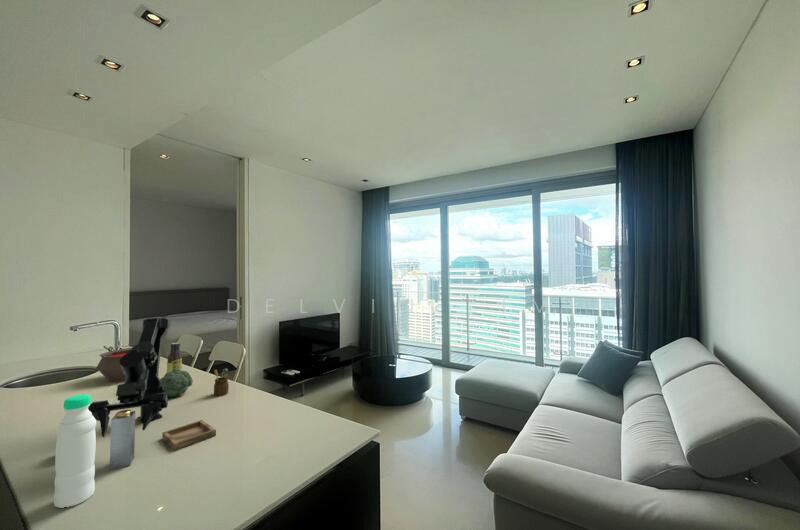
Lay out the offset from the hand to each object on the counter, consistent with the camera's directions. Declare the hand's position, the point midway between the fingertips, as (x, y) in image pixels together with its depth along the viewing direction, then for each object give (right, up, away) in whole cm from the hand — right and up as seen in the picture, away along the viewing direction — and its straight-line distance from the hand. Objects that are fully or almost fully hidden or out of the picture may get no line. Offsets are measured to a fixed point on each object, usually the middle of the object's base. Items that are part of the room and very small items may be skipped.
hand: (123, 433), depth 95 cm
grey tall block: (0, -9, -1) cm, 9 cm away
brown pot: (-65, -11, +77) cm, 101 cm away
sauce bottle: (-34, -11, +69) cm, 78 cm away
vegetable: (-22, -10, +53) cm, 58 cm away
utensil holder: (-1, -10, +54) cm, 55 cm away
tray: (+10, -9, +15) cm, 20 cm away
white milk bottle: (+1, -8, -16) cm, 18 cm away
